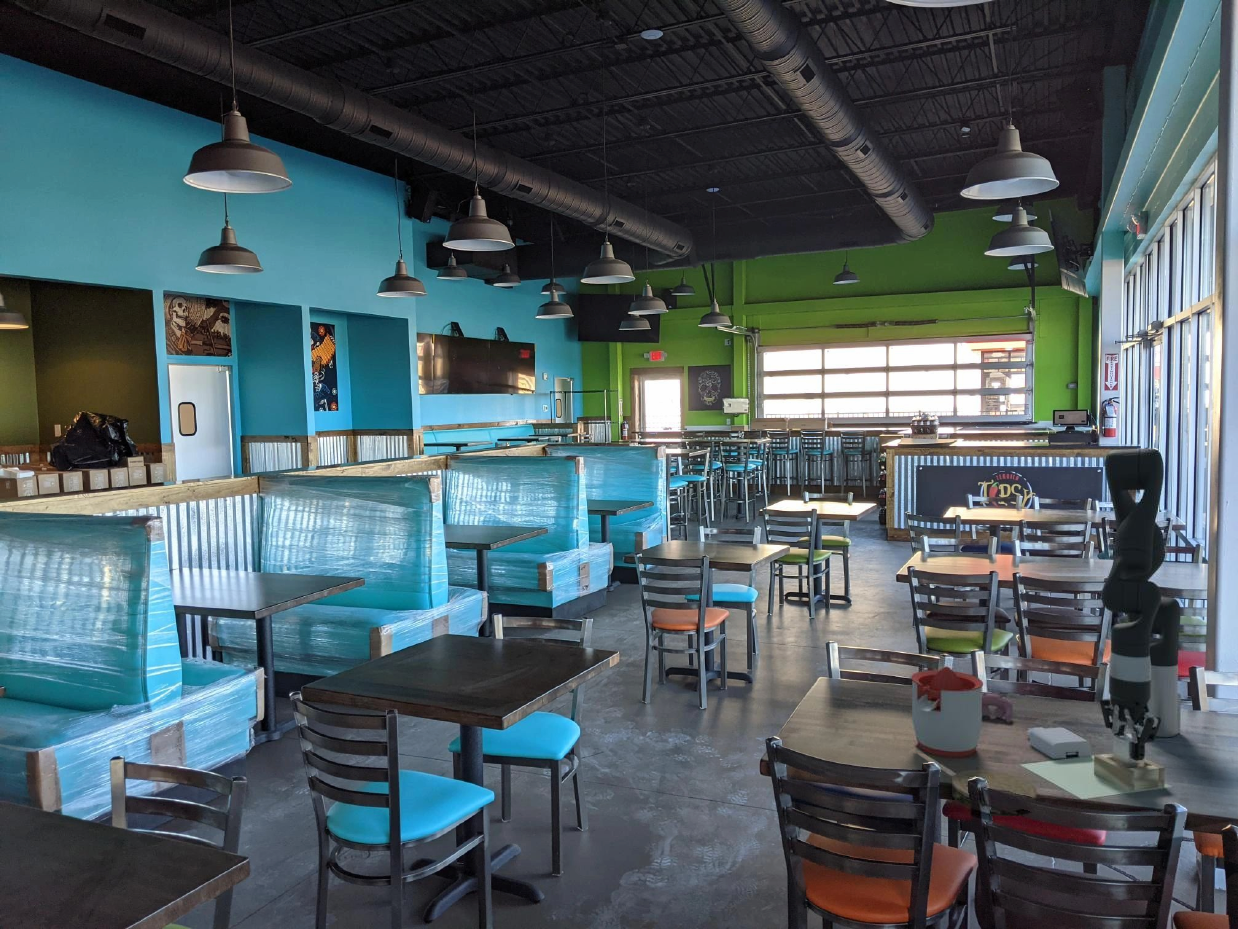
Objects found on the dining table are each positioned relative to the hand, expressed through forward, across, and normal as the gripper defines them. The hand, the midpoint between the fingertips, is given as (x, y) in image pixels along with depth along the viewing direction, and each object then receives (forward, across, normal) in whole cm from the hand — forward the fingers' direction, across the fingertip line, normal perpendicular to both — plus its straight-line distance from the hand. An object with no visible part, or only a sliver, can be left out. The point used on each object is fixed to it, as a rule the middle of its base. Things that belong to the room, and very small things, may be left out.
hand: (1128, 755), depth 180 cm
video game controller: (+7, +43, 0) cm, 44 cm away
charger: (+7, +21, +1) cm, 22 cm away
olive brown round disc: (+7, +2, +31) cm, 32 cm away
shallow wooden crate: (+5, 0, 0) cm, 5 cm away
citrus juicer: (+7, +26, +26) cm, 37 cm away
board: (+6, +4, +5) cm, 9 cm away
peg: (+4, 0, 0) cm, 4 cm away
